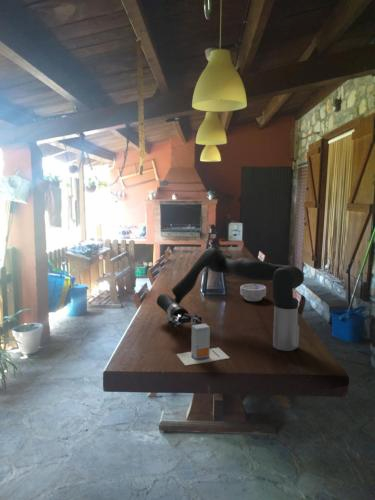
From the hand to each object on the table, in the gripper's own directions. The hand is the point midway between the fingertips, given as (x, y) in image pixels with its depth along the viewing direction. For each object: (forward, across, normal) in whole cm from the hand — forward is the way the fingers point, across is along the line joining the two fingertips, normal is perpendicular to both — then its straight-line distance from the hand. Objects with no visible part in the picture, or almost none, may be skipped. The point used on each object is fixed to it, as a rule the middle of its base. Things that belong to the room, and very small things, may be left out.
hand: (190, 325), depth 150 cm
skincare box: (+11, 0, +9) cm, 14 cm away
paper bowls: (-51, +59, +9) cm, 79 cm away
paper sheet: (+11, +1, +9) cm, 14 cm away
